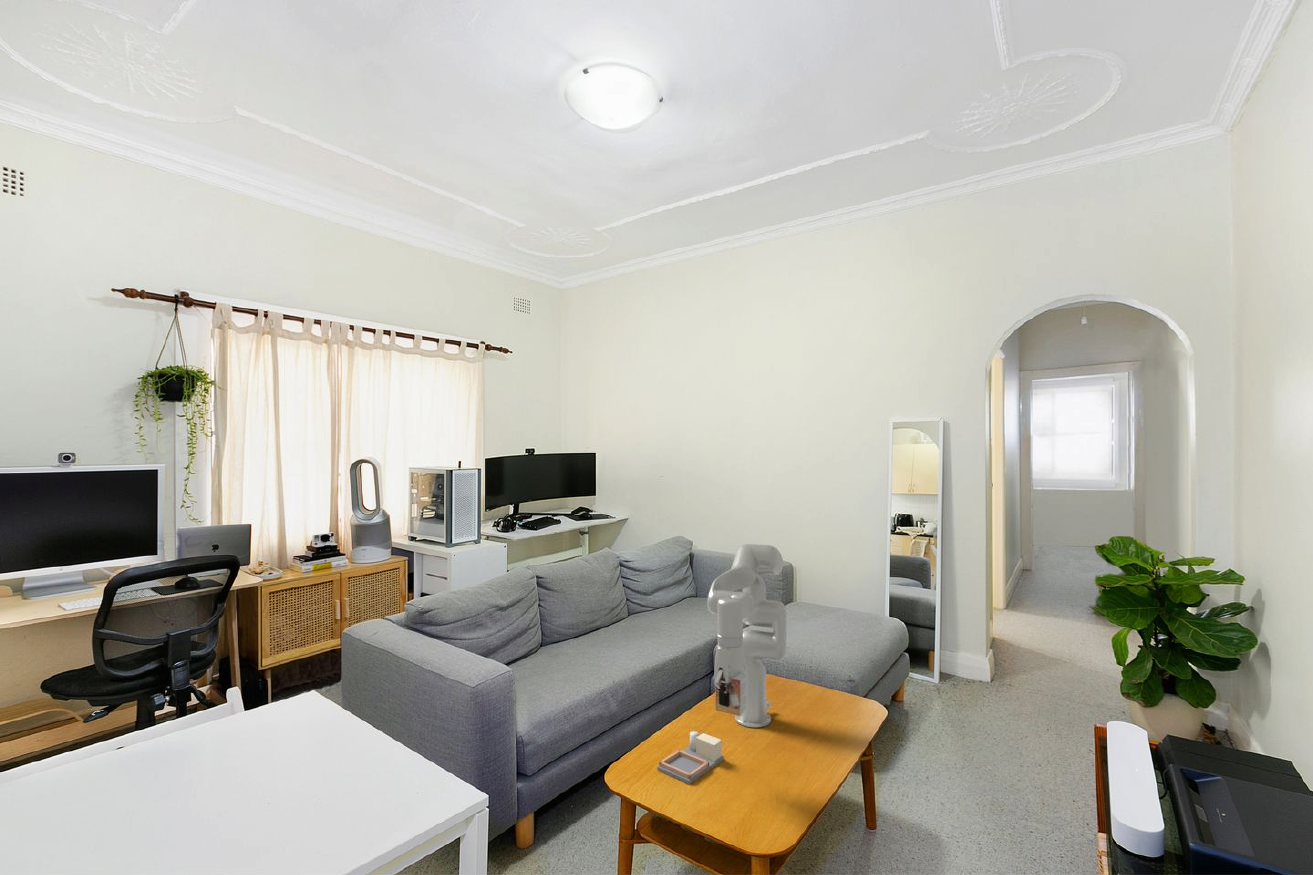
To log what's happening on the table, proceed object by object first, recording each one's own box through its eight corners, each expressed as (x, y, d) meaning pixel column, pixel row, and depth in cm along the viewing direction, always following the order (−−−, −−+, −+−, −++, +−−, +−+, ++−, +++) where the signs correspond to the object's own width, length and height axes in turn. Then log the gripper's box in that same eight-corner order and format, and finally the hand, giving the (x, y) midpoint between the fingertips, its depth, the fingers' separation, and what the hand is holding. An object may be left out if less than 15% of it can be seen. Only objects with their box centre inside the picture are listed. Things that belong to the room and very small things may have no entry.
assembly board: (693, 746, 192) (692, 728, 192) (723, 759, 184) (723, 739, 184) (657, 769, 178) (657, 749, 178) (689, 784, 171) (688, 763, 171)
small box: (714, 711, 174) (714, 675, 174) (721, 703, 179) (721, 668, 179) (740, 716, 170) (740, 679, 170) (747, 708, 175) (746, 673, 175)
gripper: (735, 630, 184) (735, 688, 184) (702, 645, 170) (703, 707, 170) (756, 635, 179) (756, 694, 179) (724, 651, 166) (725, 715, 165)
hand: (730, 700), depth 175 cm, fingers closed on small box, 6 cm apart
